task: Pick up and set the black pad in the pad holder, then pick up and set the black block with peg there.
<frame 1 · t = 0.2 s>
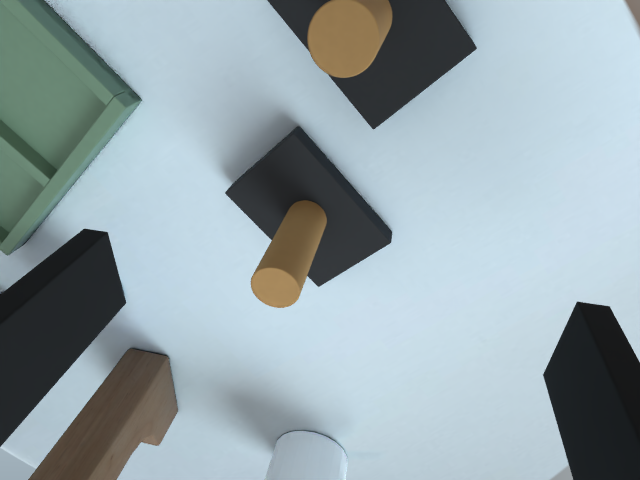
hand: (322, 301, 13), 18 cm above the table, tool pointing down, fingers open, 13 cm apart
wooden block: (156, 378, 47), on the table
black pad 1: (368, 15, 25), on the table
mug: (328, 450, 48), on the table
black block with peg 2: (311, 208, 32), on the table
pad holder: (1, 115, 33), on the table
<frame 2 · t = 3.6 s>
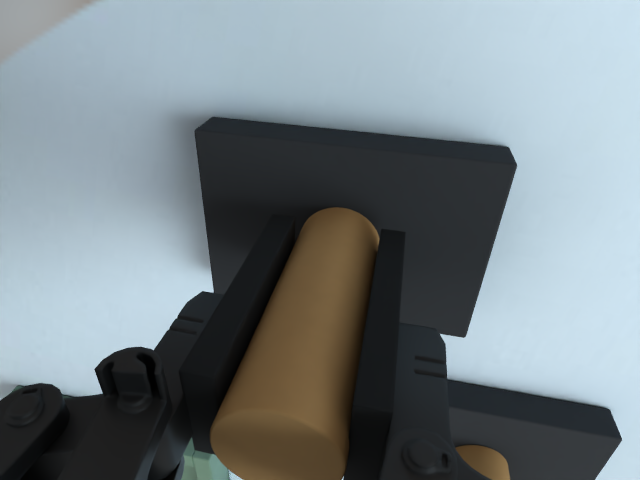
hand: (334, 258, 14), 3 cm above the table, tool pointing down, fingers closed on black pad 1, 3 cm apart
black pad 1: (346, 221, 17), on the table, touching gripper
black block with peg 2: (472, 434, 21), on the table
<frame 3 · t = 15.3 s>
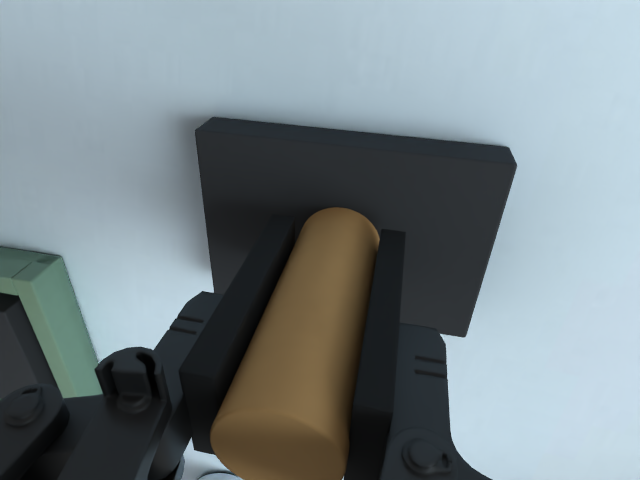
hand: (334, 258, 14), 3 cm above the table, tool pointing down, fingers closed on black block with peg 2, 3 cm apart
black block with peg 2: (346, 221, 17), on the table, touching gripper
pad holder: (9, 374, 27), on the table
when the fingers open (3 cm above the table, at t = 21.8 s): black block with peg 2 stays where it is, resting on pad holder.
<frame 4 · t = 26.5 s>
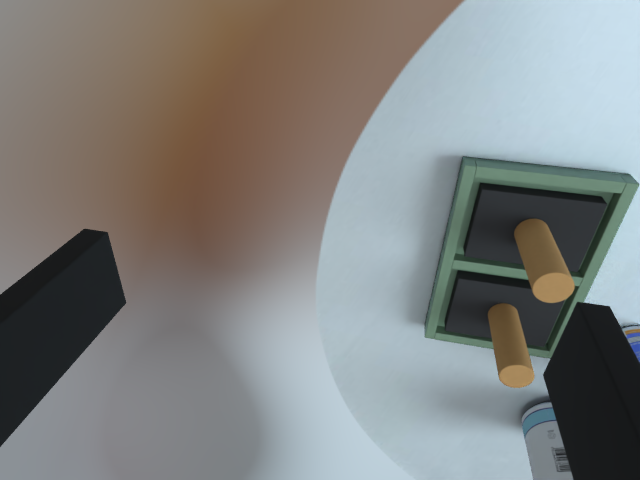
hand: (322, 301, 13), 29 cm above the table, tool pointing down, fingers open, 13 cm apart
black pad 1: (527, 223, 40), point 1 cm above the table, touching pad holder
beverage can: (550, 413, 53), on the table
black block with peg 2: (500, 304, 45), point 1 cm above the table, touching pad holder
pad holder: (512, 261, 43), on the table
pill bottle: (631, 342, 45), on the table
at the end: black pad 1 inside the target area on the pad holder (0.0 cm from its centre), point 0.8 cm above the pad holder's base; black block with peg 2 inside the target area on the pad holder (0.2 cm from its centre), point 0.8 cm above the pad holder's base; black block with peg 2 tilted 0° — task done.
